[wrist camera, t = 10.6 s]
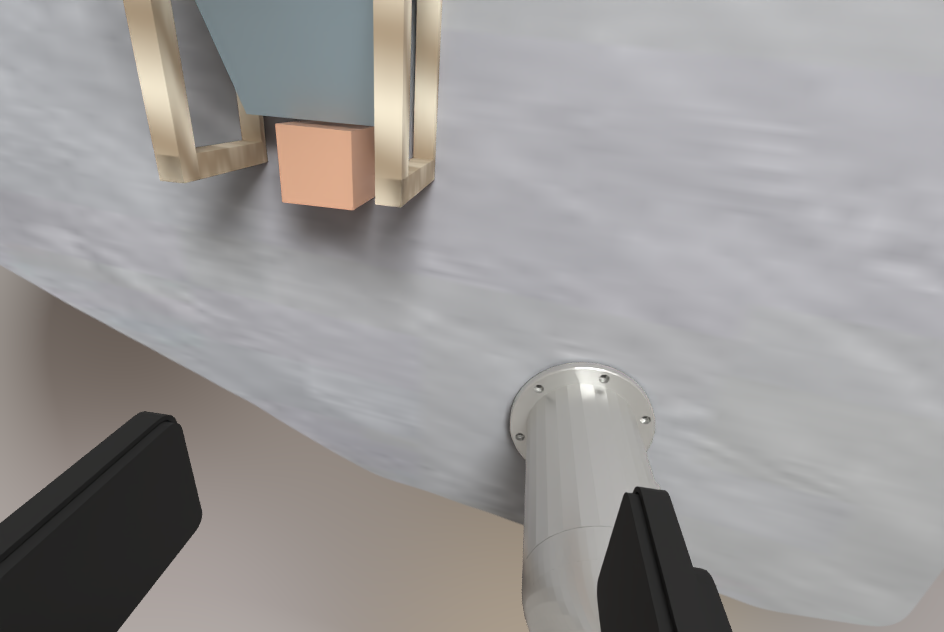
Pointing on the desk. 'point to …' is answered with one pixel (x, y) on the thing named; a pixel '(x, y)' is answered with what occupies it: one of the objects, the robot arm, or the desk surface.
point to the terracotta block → (326, 163)
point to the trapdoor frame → (175, 135)
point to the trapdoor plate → (297, 56)
